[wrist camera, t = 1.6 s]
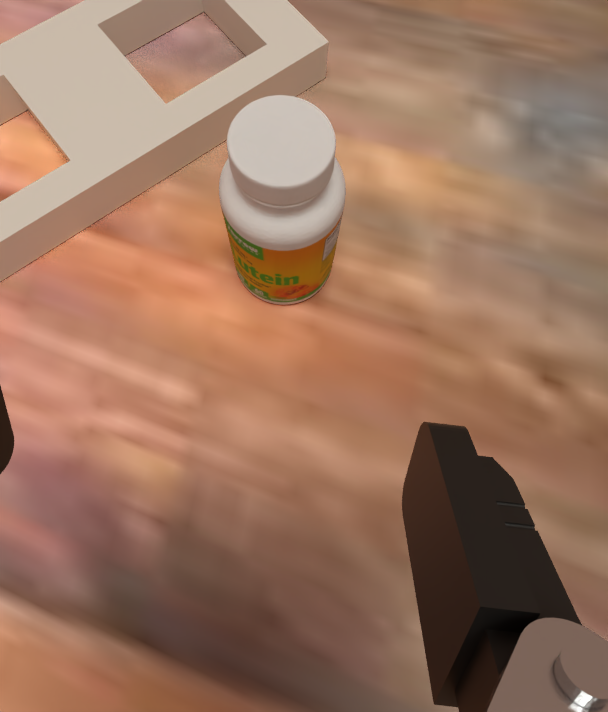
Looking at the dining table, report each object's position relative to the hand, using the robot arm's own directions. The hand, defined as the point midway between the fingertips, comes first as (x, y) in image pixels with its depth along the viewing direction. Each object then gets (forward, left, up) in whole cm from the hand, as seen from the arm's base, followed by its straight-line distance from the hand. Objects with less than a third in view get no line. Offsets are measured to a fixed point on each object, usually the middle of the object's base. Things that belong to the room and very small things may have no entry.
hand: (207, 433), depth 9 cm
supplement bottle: (-8, -8, -15) cm, 19 cm away
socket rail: (-5, -22, -15) cm, 27 cm away
